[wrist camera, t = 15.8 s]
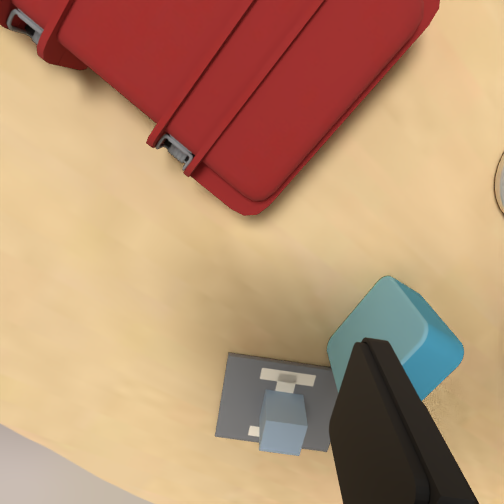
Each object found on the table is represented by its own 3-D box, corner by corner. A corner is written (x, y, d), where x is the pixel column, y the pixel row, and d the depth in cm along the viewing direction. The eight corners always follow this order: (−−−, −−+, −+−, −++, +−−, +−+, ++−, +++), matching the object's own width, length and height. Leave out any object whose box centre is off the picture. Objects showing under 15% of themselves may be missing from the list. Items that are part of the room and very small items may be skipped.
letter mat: (351, 370, 46) (352, 373, 46) (326, 448, 52) (326, 451, 51) (228, 352, 46) (228, 355, 45) (215, 432, 51) (215, 436, 50)
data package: (353, 360, 46) (382, 440, 35) (324, 344, 45) (344, 421, 34) (416, 289, 42) (472, 354, 31) (385, 270, 41) (432, 330, 30)
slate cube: (303, 394, 47) (307, 426, 43) (295, 423, 49) (299, 455, 45) (265, 389, 47) (266, 420, 42) (259, 418, 49) (259, 450, 44)
